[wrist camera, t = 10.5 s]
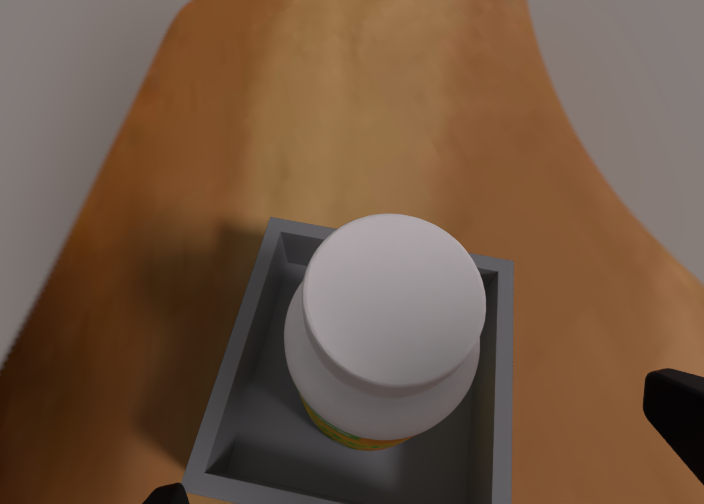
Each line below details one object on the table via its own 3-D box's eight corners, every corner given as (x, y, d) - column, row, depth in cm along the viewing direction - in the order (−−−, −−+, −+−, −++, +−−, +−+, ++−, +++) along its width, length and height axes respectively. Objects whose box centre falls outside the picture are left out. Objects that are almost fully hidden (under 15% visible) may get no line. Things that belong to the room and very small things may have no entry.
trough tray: (475, 546, 15) (510, 565, 12) (208, 487, 16) (178, 490, 13) (486, 293, 20) (513, 261, 17) (280, 255, 21) (270, 216, 18)
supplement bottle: (282, 430, 16) (224, 381, 8) (322, 305, 19) (310, 166, 10) (417, 469, 16) (511, 463, 7) (440, 336, 18) (529, 217, 10)
